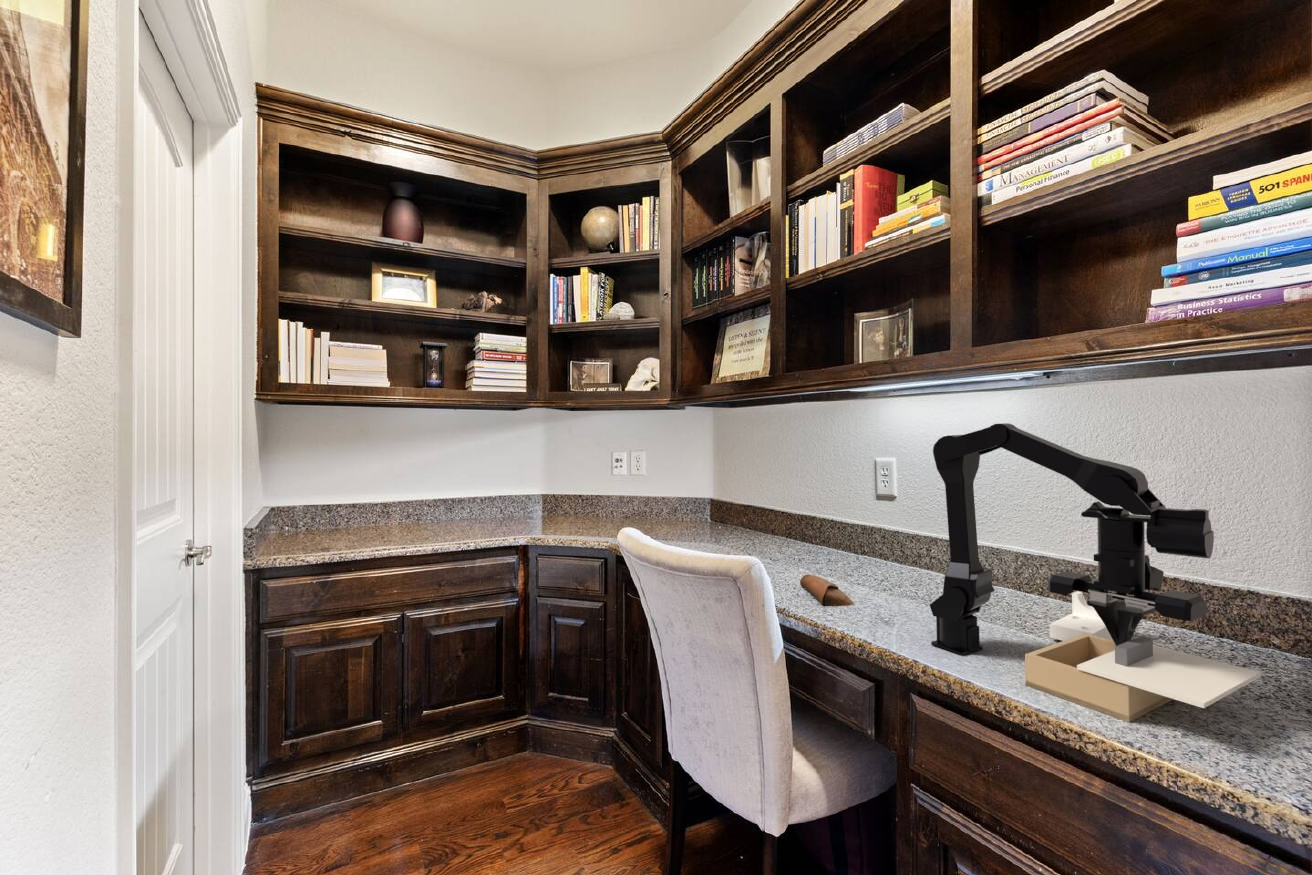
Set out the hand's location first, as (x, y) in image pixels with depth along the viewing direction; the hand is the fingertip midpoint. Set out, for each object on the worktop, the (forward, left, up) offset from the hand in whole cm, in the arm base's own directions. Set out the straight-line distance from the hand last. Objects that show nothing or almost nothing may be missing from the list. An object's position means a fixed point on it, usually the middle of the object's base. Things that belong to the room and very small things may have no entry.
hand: (1122, 649), depth 92 cm
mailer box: (-2, -1, -7) cm, 7 cm away
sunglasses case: (-63, +1, -7) cm, 64 cm away
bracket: (-15, +20, -7) cm, 26 cm away
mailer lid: (+6, -1, -1) cm, 6 cm away
